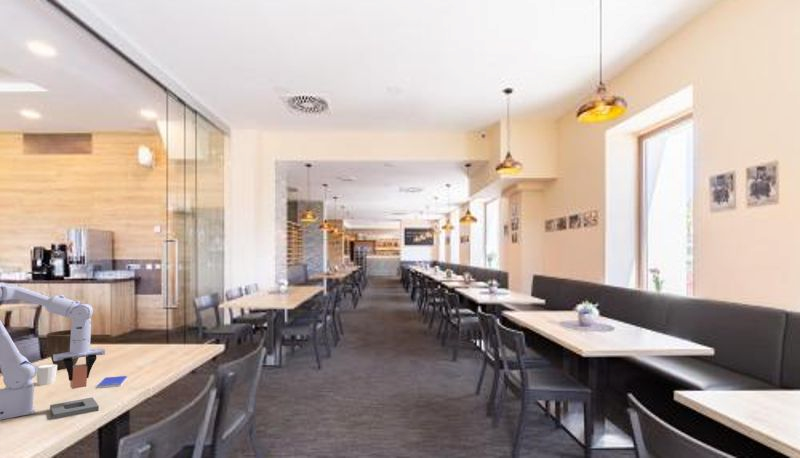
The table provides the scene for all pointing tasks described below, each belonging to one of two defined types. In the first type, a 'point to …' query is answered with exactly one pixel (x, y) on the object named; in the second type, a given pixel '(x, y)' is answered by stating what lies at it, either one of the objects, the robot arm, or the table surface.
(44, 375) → the white tapered cup
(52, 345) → the plant pot
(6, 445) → the table surface
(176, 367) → the table surface
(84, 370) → the reddish brown block
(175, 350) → the table surface
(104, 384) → the hard drive
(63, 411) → the socket plate
